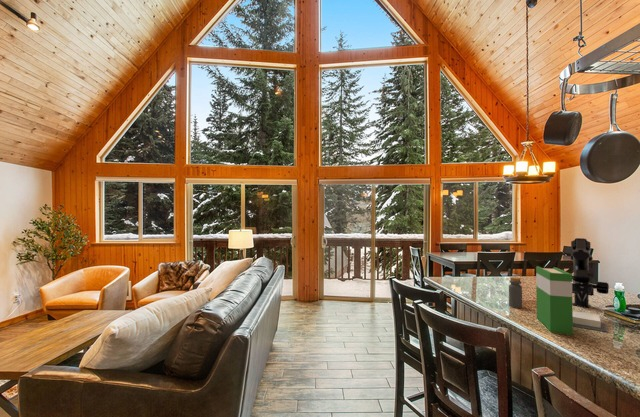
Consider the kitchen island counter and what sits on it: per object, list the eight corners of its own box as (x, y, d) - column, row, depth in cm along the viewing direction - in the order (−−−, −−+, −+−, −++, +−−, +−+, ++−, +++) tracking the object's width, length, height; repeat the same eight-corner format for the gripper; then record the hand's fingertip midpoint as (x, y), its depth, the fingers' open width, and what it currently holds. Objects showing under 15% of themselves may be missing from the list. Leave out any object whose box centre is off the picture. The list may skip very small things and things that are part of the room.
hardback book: (536, 318, 141) (536, 266, 142) (556, 320, 139) (555, 267, 139) (550, 332, 125) (549, 273, 125) (572, 335, 122) (572, 274, 123)
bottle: (520, 305, 162) (520, 276, 163) (523, 308, 157) (523, 278, 157) (507, 304, 164) (507, 276, 165) (510, 307, 159) (510, 278, 159)
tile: (566, 309, 143) (566, 315, 135) (598, 314, 137) (600, 321, 128) (566, 316, 143) (566, 322, 135) (598, 321, 136) (600, 328, 128)
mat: (561, 317, 144) (561, 316, 144) (605, 324, 134) (605, 323, 134) (560, 324, 135) (560, 322, 135) (607, 332, 125) (607, 331, 125)
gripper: (556, 261, 153) (555, 287, 144) (608, 265, 141) (610, 294, 132) (557, 274, 159) (556, 300, 150) (606, 279, 147) (609, 308, 138)
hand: (582, 300), depth 143 cm, fingers closed
